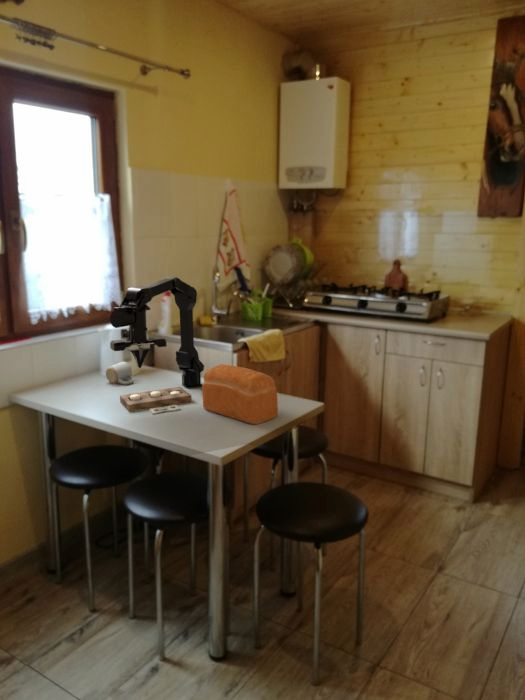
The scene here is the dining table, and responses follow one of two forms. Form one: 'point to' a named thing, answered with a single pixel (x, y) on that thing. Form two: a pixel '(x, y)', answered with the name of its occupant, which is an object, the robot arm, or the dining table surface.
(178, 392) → the white egg
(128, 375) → the ceramic mug
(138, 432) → the dining table surface
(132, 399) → the cream egg
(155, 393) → the off-white egg
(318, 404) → the dining table surface
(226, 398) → the bread
